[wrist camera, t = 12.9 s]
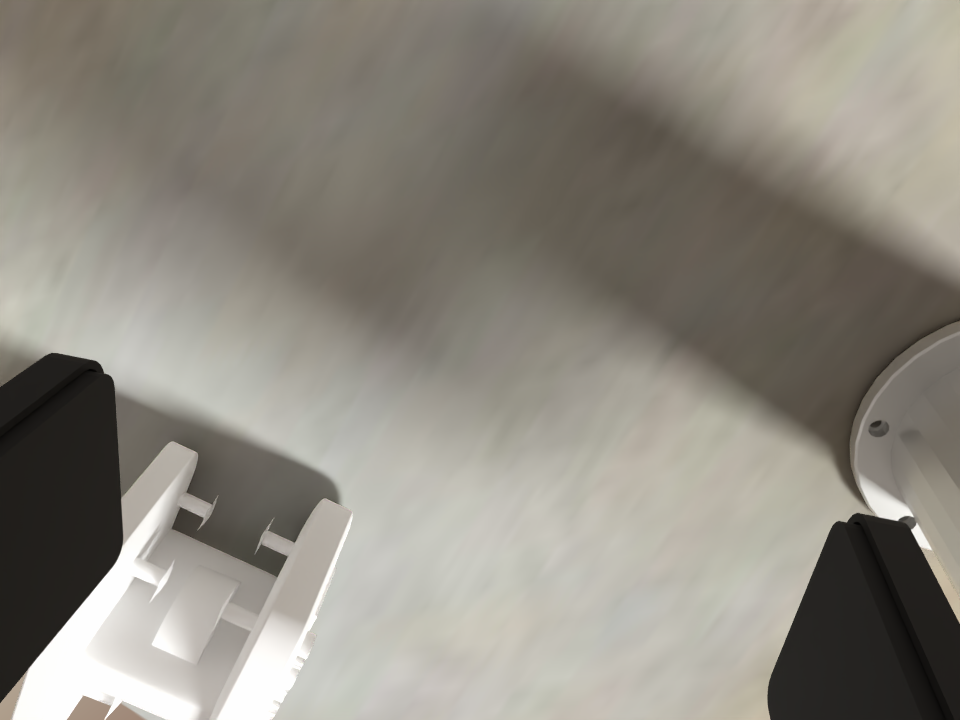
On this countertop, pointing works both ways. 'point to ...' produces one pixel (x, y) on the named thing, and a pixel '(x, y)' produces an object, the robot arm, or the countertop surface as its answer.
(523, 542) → the countertop surface
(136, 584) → the cable organizer
